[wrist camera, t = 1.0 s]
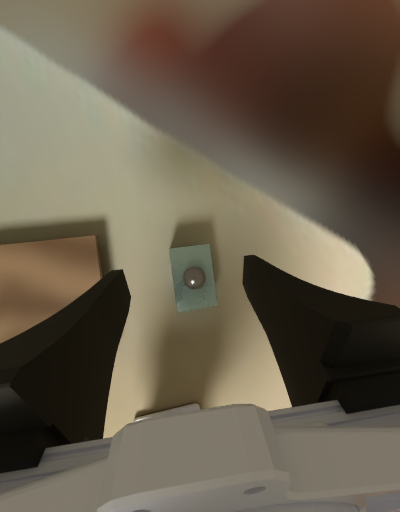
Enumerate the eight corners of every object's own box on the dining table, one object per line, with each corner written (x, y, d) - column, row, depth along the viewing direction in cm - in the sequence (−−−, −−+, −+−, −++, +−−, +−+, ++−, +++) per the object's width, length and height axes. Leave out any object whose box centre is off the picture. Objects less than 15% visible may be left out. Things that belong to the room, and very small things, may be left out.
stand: (117, 352, 24) (110, 363, 21) (-16, 377, 22) (-40, 393, 19) (102, 237, 24) (95, 235, 21) (-31, 252, 22) (-57, 250, 19)
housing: (210, 299, 26) (219, 307, 21) (176, 304, 25) (177, 314, 20) (203, 246, 26) (211, 242, 21) (169, 250, 25) (169, 248, 20)
